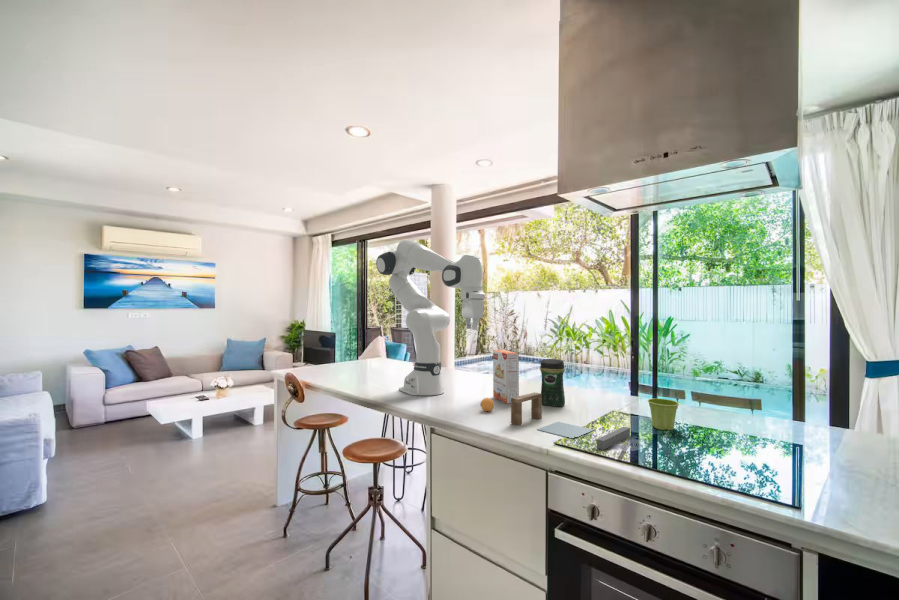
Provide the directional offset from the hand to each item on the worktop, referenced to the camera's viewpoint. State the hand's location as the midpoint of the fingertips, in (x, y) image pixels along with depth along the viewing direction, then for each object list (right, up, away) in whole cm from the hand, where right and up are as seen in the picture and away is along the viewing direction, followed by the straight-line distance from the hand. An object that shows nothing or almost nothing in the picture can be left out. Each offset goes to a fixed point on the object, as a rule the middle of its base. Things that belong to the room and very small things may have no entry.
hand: (471, 329), depth 166 cm
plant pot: (+62, -31, -30) cm, 75 cm away
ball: (+6, -28, -9) cm, 30 cm away
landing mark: (+29, -30, -33) cm, 53 cm away
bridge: (+18, -30, -22) cm, 42 cm away
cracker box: (+15, -31, +10) cm, 36 cm away
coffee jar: (+33, -31, +3) cm, 46 cm away
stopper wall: (+40, -30, -44) cm, 67 cm away
